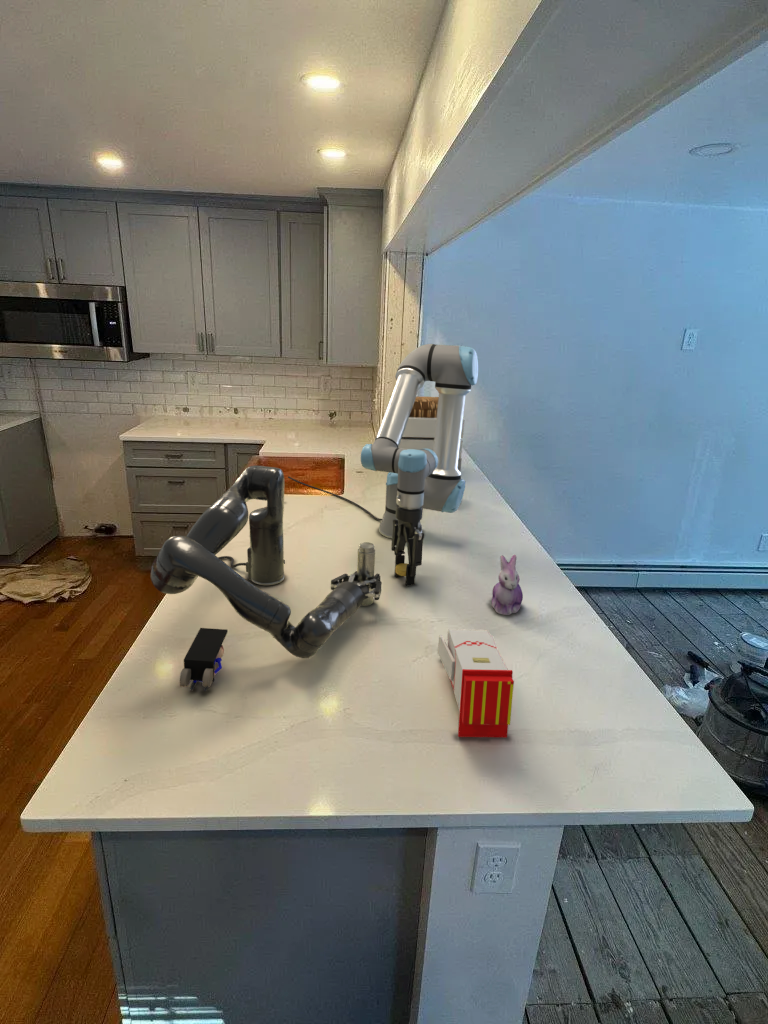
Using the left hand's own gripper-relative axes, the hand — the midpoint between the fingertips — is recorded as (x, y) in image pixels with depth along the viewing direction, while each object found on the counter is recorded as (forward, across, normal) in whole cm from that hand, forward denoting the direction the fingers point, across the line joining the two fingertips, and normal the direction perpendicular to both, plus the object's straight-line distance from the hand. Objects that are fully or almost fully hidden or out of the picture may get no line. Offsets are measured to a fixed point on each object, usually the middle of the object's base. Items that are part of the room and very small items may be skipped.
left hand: (369, 575), depth 153 cm
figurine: (+11, +36, -7) cm, 38 cm away
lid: (+14, +5, -3) cm, 15 cm away
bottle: (-3, 0, -7) cm, 7 cm away
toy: (-28, +35, -7) cm, 46 cm away
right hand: (+14, +5, -7) cm, 16 cm away
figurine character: (-47, -17, -7) cm, 50 cm away
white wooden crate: (+126, -27, -7) cm, 129 cm away
